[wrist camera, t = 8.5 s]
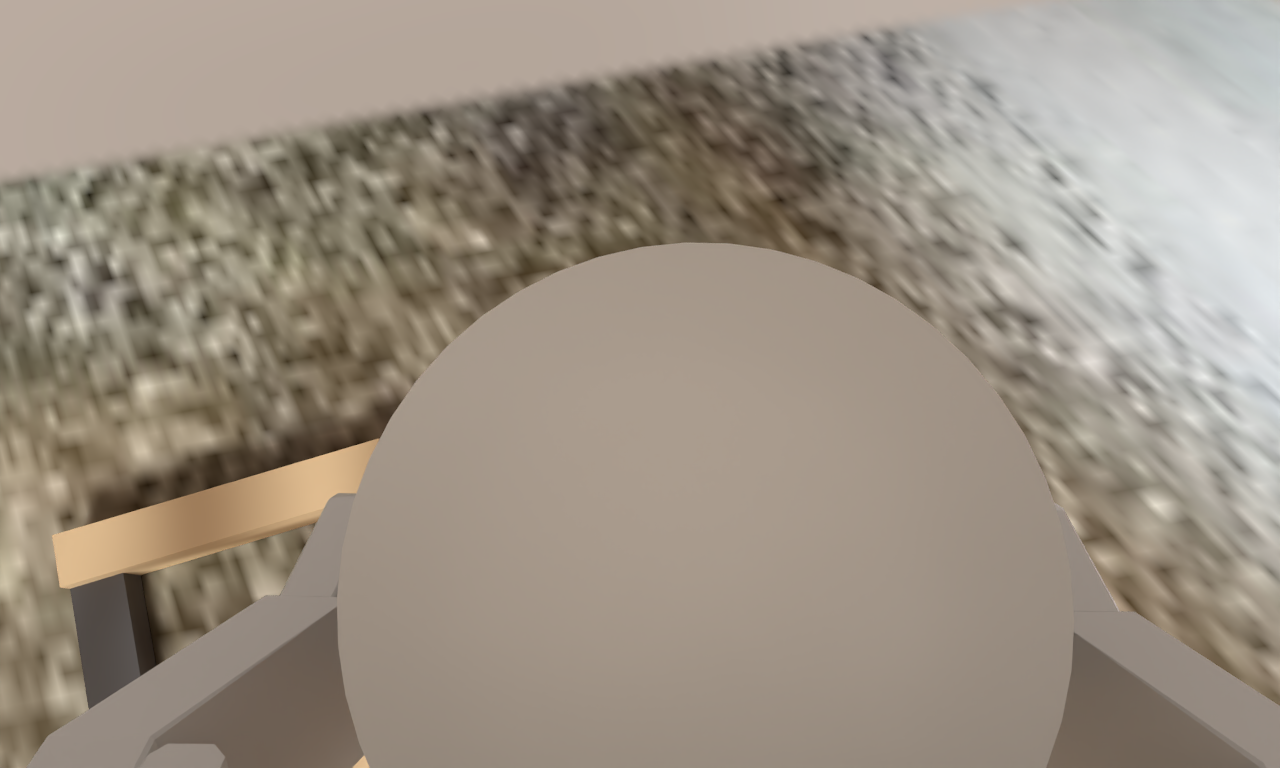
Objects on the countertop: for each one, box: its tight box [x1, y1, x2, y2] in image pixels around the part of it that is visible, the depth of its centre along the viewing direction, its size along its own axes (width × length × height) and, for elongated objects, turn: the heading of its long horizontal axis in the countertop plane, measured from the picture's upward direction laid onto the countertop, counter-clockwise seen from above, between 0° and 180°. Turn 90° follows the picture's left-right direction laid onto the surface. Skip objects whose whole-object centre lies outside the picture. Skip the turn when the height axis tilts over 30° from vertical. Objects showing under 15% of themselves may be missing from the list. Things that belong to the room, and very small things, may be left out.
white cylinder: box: [337, 243, 1074, 768], centre depth 11 cm, size 5×5×11 cm
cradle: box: [52, 438, 379, 768], centre depth 28 cm, size 9×9×2 cm
